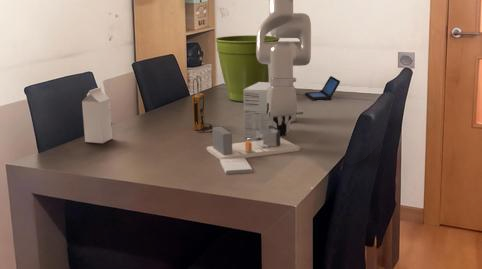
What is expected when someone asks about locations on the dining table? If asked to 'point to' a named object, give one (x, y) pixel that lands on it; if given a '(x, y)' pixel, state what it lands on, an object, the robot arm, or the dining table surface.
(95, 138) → the milk carton
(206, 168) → the dining table surface
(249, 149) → the small orange block
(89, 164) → the dining table surface
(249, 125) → the supplement box
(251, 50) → the plant pot
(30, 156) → the dining table surface
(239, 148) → the base
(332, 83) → the handheld game console
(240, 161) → the external hard drive
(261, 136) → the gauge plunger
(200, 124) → the multimeter
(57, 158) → the dining table surface
